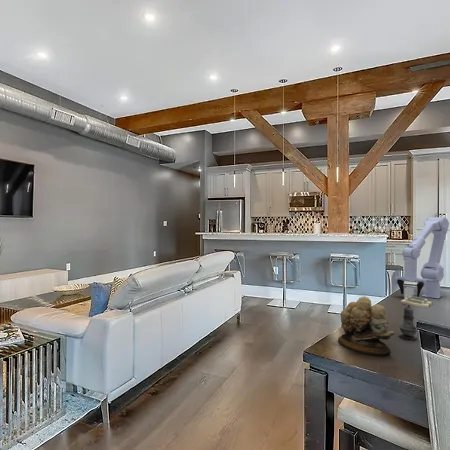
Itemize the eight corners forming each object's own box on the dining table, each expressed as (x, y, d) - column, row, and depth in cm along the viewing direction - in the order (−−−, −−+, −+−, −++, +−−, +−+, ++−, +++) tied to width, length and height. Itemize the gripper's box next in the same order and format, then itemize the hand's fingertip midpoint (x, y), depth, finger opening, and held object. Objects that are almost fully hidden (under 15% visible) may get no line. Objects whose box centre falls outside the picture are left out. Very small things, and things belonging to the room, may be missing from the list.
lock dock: (406, 299, 173) (406, 295, 173) (432, 303, 164) (432, 299, 164) (400, 303, 165) (400, 298, 165) (427, 308, 156) (427, 303, 156)
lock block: (406, 297, 178) (406, 286, 178) (415, 299, 175) (416, 287, 175) (404, 299, 174) (404, 287, 174) (413, 300, 171) (413, 289, 171)
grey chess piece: (395, 334, 120) (395, 302, 119) (410, 334, 120) (411, 302, 120) (405, 340, 114) (406, 306, 113) (421, 340, 114) (422, 306, 114)
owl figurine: (400, 351, 105) (401, 298, 105) (385, 361, 97) (386, 305, 97) (347, 335, 118) (348, 288, 118) (330, 344, 110) (331, 294, 110)
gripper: (393, 269, 176) (393, 294, 177) (424, 272, 166) (423, 298, 167) (397, 267, 181) (397, 292, 182) (427, 270, 172) (427, 296, 172)
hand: (410, 295), depth 174 cm, fingers open, 7 cm apart
